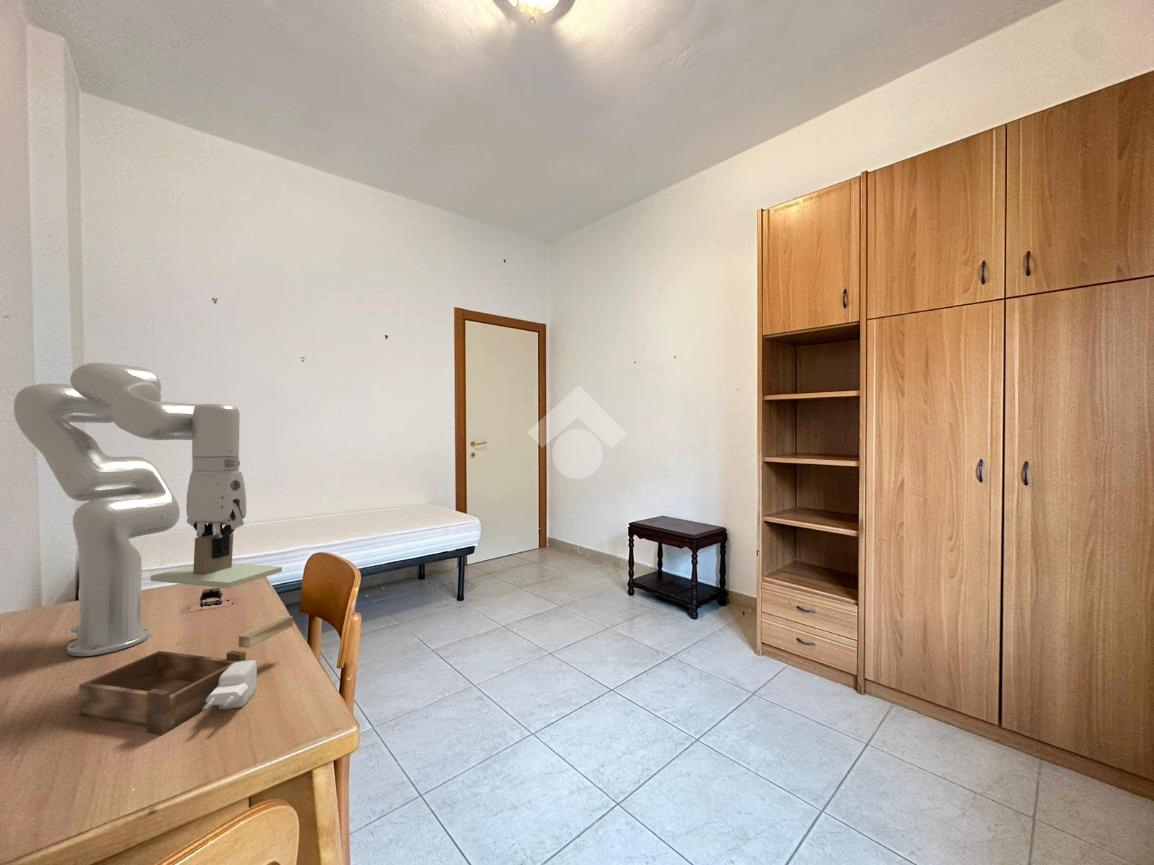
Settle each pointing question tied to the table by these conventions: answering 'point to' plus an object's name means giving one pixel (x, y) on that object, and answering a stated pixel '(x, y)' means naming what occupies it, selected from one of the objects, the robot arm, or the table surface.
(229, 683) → the power adapter
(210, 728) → the table surface
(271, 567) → the lid
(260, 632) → the tan rectangular block
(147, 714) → the brown wooden open box
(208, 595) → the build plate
